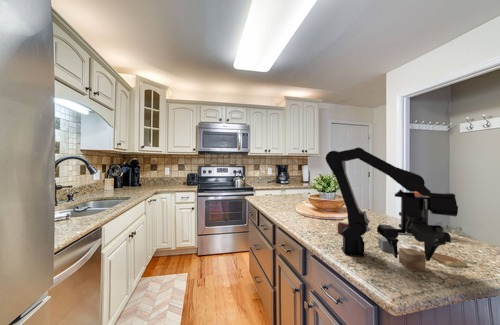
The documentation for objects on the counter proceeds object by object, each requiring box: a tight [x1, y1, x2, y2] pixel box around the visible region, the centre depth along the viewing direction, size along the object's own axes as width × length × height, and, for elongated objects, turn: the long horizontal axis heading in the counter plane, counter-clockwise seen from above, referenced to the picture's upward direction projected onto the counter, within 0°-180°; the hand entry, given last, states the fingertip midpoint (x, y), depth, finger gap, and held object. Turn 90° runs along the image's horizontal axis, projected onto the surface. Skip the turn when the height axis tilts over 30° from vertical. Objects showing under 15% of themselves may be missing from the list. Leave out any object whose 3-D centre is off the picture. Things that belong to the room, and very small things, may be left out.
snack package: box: [336, 217, 349, 235], centre depth 103 cm, size 21×7×7 cm, turn 133°
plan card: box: [399, 243, 425, 252], centre depth 80 cm, size 7×5×1 cm
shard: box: [420, 250, 467, 268], centre depth 72 cm, size 11×8×2 cm
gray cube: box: [377, 237, 393, 253], centre depth 79 cm, size 4×4×4 cm
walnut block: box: [398, 247, 427, 272], centre depth 66 cm, size 5×5×5 cm
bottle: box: [412, 191, 429, 225], centre depth 99 cm, size 7×7×20 cm
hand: (411, 259), depth 66 cm, fingers open, 9 cm apart
